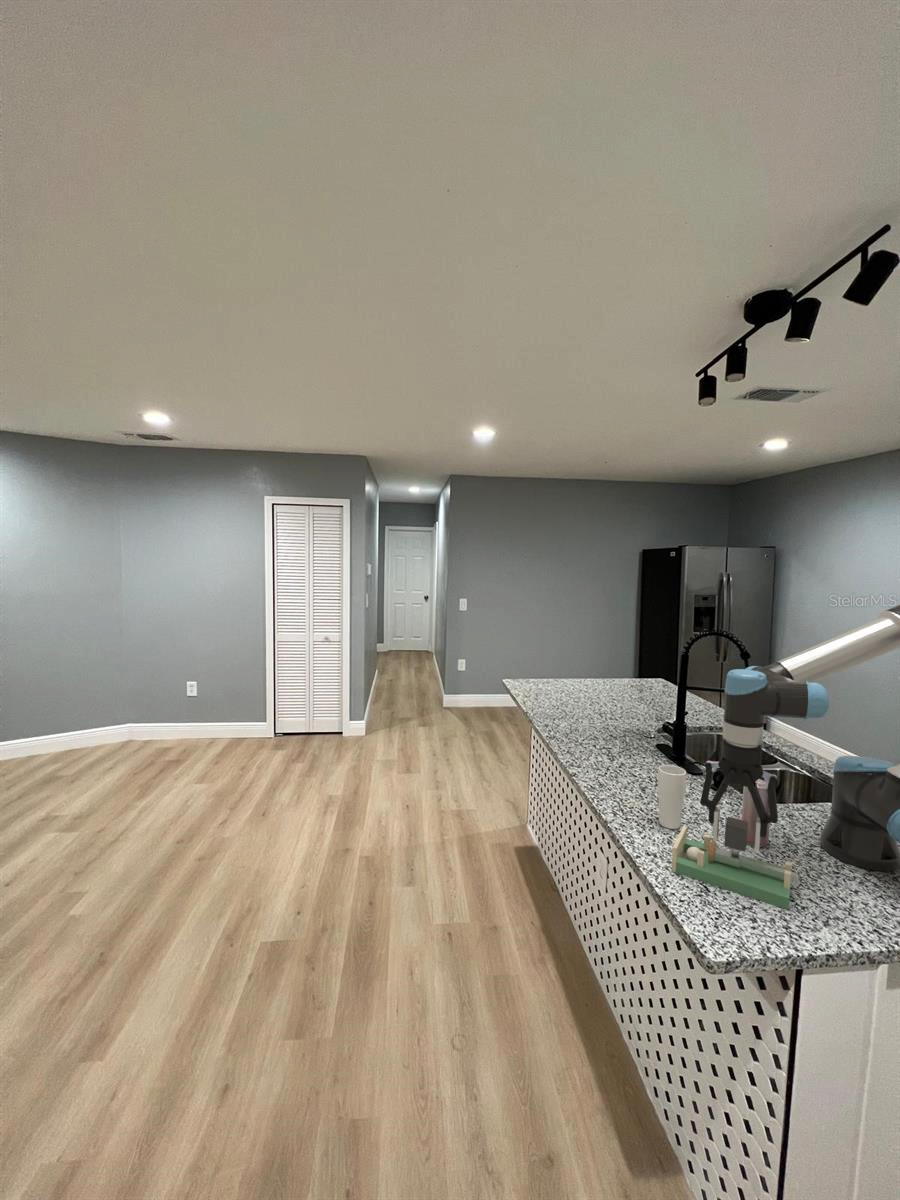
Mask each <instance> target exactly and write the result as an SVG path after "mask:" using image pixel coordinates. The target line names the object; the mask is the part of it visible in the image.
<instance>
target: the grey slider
mask: <svg viewBox="0 0 900 1200" xmlns="http://www.w3.org/2000/svg"><path fill="white" fill-rule="evenodd" d="M748 823H749V822H747V821H743V820H742V819H738V818H735V817H730V816H727V818H726V822H725V830H724V832H725V833H724V845H723V846H724V847H727V848H730V849H731V850H729V851H728V850H725V849H722V848H720V849H719V848H718V847H717V845H718V844H717V843H718V842H717V841H715V840H711V841H710V847H709V852H708V861H711V862H713V861H714V860H715V861H719V862H722V863H725V864H728V865H732V866H735V867H738V868H739V867H740V866H742V867H745V868H748V869H751V870H755V871H758V872H761V873H765V874H768V875H771V876H774V877H778V878H781V879H784V874H785V870H784V869H780V868H777V867H774V866H770V865H767V864H763V863H760V862H757V861H753V860H750V859H747V858H743V857H741V855H742V854H740V853H741V852H743V853H746V851H747V846H748V844H747V839H748ZM798 879H799V873H797V872H794V871H791V882H790V883H793V884H798V883H799V882H798Z"/></svg>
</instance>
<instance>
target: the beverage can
mask: <svg viewBox="0 0 900 1200" xmlns="http://www.w3.org/2000/svg"><path fill="white" fill-rule="evenodd" d="M756 785H757V789H758V791H759V794H760V797H761V800H762V802H763V805H764V808H765V810H766V813H767V814H770V809H769V799H768V784H766V783H765V781H764V780H762V779H760V778H759V779H758V780H757V781H756ZM741 805H742V806H741V807H742V808H741V820H743V821H747V822H749V823H748V839H747V845H749V846H751V847H755V836H756V822H757V818H759V815H758V813H757V810H756V807H755V805H754V802H753V799H752V796H751V794H750V792H749V790H748V787H745V786H743V791H742V803H741ZM770 824H771V823H768V824H767V835H766V837H765V838H763V837H760V848H764V847H766V846H767V845H768V844H769V838H770V837H769V836H770Z"/></svg>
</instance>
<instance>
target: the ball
mask: <svg viewBox="0 0 900 1200" xmlns="http://www.w3.org/2000/svg"><path fill="white" fill-rule="evenodd" d="M698 850H700V849H699V848H697V847H690V848H688V850H687V852H686V855H687V858H688V859H689V860H690V861H693V862H696V863H697V857H698Z"/></svg>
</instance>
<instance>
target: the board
mask: <svg viewBox="0 0 900 1200" xmlns="http://www.w3.org/2000/svg"><path fill="white" fill-rule="evenodd" d="M687 835H688V826H687V825H683V826H682V828H681V830H680V832H679V834H678V836H677V838H676V840H675V842H674V844H673V846H672V855H671V872H673V873H675V874H680V875H682V876H686V877H688V878H692V879H695V880H698V881H700V882H703V883H706V884H709V885H712V886H715V887H717V888H721V889H725V890H727V891H731V892H734V893H737V894H739V895H743V896H745V897H749V898H751V899H753V900H754V899H755V900H757V901H759V902H760V901H761V902H763V903H767V904H769V905H773V906H775V907H778V908H780V909H781V908H782V909H785V910H788V911H789V909H790V908H789V907H790V906H789V905H790V895H791V883H792V882H791V872H792V865H793V863H792V862H789V861H785V865H784V866H785V867H784V866H780V865H776V864H773V863H772V862H771V863H769V862H767V861H763V860H760V859H757V858H753V857H750V856H746V855H743V854H740V855H741V857H743V858H747V859H750V860H753V861H757V862H760V863H763V864H767V865H770V866H774V867H777V868H780V869H784V870H785V874H784V879H781V878H778V877H774V876H771V875H768V874H765V873H761V872H758V871H755V870H751V869H748V868H745V867H742V866H740V867H739V868H738V867H735V866H732V865H728V864H725V863H722V862H719V861H715V860H714V861H713V862H711V861H708V852H709V847H710V844H711V839H712V838H711V837H712V836H711V835H709V834H707V833H704V836H703V843H702V842H699V841H696V840H691V839H689V838H688V837H687ZM690 847H697V848H699V849H700V850H698V857H697V863H696V862H693V861H690V860H689V859H688V858H687V855H686V852H687V850H688V848H690ZM719 849H721V848H719Z"/></svg>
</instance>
